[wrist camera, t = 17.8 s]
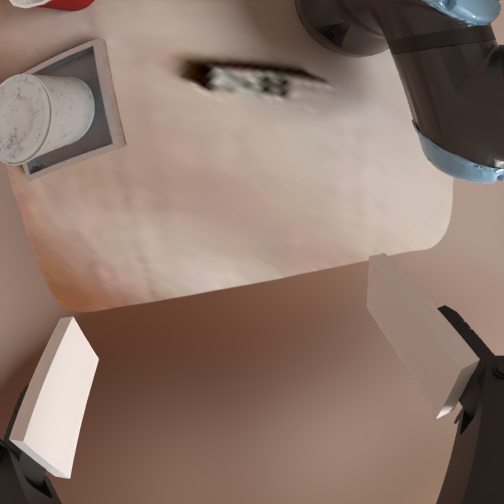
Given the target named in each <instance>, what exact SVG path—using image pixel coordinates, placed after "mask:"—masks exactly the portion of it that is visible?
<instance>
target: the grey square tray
mask: <svg viewBox="0 0 504 504" xmlns="http://www.w3.org/2000/svg"><path fill="white" fill-rule="evenodd" d="M24 73H25V74H32V75H45V76H58V77H73V78H78V79H80V80H82V81H83V82H84V83H86V84H87V85H88V86H89V88H90V90H91V91H92V94H93V97H94V101H95V112H94V117H93V121H92V123H91V125H90V127H89V129H88V131H87V132H86V133H85V134H84V136H82V137H81V138H80V139H79V140H78V141H76V142H74V143H72V144H69V145H65V146H63V147H60V148H57V149H55V150H53V151H50V152H48V153H45V154H43V155H41V156H38V157H36V158H34V159H32V160H30V161H28V162H27V163H24V164H22V165H23V168H24V172H25V175H26V178H27V182H29V181H31V180H33V179H36V178H38V177H41V176H43V175H45V174H48V173H50V172H53V171H56V170H58V169H61V168H63V167H66V166H69V165H71V164H74V163H77V162H80V161H83V160H85V159H88V158H91V157H94V156H97V155H100V154H103V153H106V152H110V151H113V150H116V149H119V148H121V147H123V146H125V145H126V141H125V137H124V133H123V129H122V124H121V120H120V115H119V111H118V106H117V102H116V97H115V92H114V87H113V82H112V76H111V71H110V65H109V60H108V54H107V48H106V42H105V41H103V40H101V39H99V38H97V39H94V40H92V41H89V42H87V43H84V44H82V45H79V46H77V47H75V48H72V49H70V50H68V51H66V52H63V53H61V54H59V55H57V56H55V57H53V58H51V59H49V60H47V61H45V62H43V63H41V64H39V65H37V66H35V67H33V68H31V69H30V70H28V71H26V72H24ZM22 74H23V73H22Z"/></svg>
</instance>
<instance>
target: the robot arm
mask: <svg viewBox="0 0 504 504" xmlns="http://www.w3.org/2000/svg"><path fill="white" fill-rule="evenodd" d="M498 1H499V0H295V2H296V9H297V13H298V16H299V18H300V20H301V22H302V24H303V26H304V27H305V29H306V30H307V31H308V32H309V34H310V35H311V36H312V37H313V38H314V39H315V40H316V41H318V42H319V43H320V44H321V45H323V46H324V47H326V48H328V49H329V50H331V51H333V52H336V53H338V54H341V55H345V56H350V57H366V56H371V55H375V54H379V53H381V52H383V51H385V50H387V49H388V48H390V51H391V54H392V57H393V59H394V62H395V65H396V67H397V70H398V73H399V76H400V79H401V81H402V84H403V87H404V91H405V94H406V97H407V100H408V103H409V107H410V110H411V114H412V117H413V120H412V122H413V126H414V128H415V130H416V132H417V133H418V136H419V139H420V142H421V146H422V149H423V152H424V154H425V156H426V158H427V159H428V160H429V161H430V162H431V163H432V164H433V165H434V166H435V167H436V168H437V169H439V170H440V171H442V172H444V173H446V174H448V175H450V176H452V177H455V178H458V179H462V180H466V181H470V182H477V183H494V182H496V180H500V181H504V45H498V44H497V42H496V38H495V36H494V33H493V30H492V27H491V23H492V22H493V21H494V20H495V19H496V18H497V17H498V15H499V13H500V10H501V5H500V3H499V2H498ZM367 309H368V310H369V312H370V313H371V315H372V316H373V318H374V319H375V321H376V322H377V324H378V325H379V327H380V328H381V330H382V331H383V333H384V334H385V336H386V338H387V339H388V341H389V342H390V344H391V345H392V347H393V348H394V350H395V352H396V353H397V355H398V356H399V358H400V359H401V361H402V363H403V364H404V366H405V367H406V369H407V371H408V372H409V374H410V376H411V377H412V379H413V380H414V382H415V384H416V385H417V387H418V389H419V390H420V392H421V394H422V395H423V397H424V399H425V400H426V402H427V404H428V406H429V407H430V409H431V411H432V412H433V414H434V416H435V418H436V419H437V418H439V417H441V416H443V415H445V414H447V413H449V412H451V411H453V410H454V408H455V406H456V405H457V403H458V401H459V402H460V403H461V405H462V406H463V407H462V409H461V411H460V412H459V414H458V416H457V417H456V419H455V421H454V423H455V424H456V423H457V422H458V420H459V423H458V428H457V433H456V437H455V442H454V446H453V450H452V454H451V458H450V461H449V465H448V469H447V472H446V475H445V479H444V482H443V485H442V488H441V491H440V494H439V497H438V500H437V503H436V504H504V356H495V355H494V354H493V353H492V352H491V351H490V349H489V348H488V347H487V346H486V345H485V343H484V342H483V341H482V340H481V339H480V338H479V336H478V335H477V334H475V332H474V331H473V330H472V329H471V328H470V326H469V325H468V324H467V323H466V322H464V320H463V318H462V317H461V316H460V315H459V314H458V313H457V312H456V311H454V310H453V309H451V308H449V307H447V306H445V305H444V306H442V307H439V308H436V307H435V306H434V305H433V304H432V303H431V301H430V300H429V299H428V298H427V297H426V296H425V295H424V294H423V293H422V292H421V291H420V289H419V288H418V287H417V286H416V285H415V284H414V283H413V282H412V281H411V280H410V279H409V278H408V277H407V276H406V275H405V273H404V272H403V271H402V270H401V269H400V268H399V267H398V266H397V265H396V264H395V263H394V262H393V261H392V260H391V259H390V258H389V257H388V256H387V255H386V254H385V253H383V254H379V255H375V256H370V257H369V276H368V294H367ZM97 364H98V357H97V356H96V354H95V353H94V351H93V349H92V348H91V346H90V345H89V343H88V341H87V340H86V338H85V336H84V335H83V333H82V331H81V330H80V328H79V326H78V324H77V323H76V321H75V319H74V318H73V317H66V318H61V319H60V320H59V322H58V324H57V326H56V328H55V330H54V332H53V334H52V336H51V338H50V340H49V342H48V344H47V346H46V348H45V350H44V353H43V355H42V357H41V359H40V361H39V363H38V366H37V368H36V370H35V372H34V375H33V377H32V380H31V382H30V384H29V385H27V386H26V387H25V389H24V390H23V391H22V392H21V394H20V397H19V399H18V401H17V405H16V406H15V409H14V413H13V414H12V417H11V420H10V422H9V425H8V428H7V431H6V434H5V437H4V440H3V441H2V440H1V439H0V504H62V503H61V501H60V499H59V497H58V495H57V493H56V491H55V489H54V488H53V486H52V484H51V481H50V480H49V478H48V477H47V476H46V475H45V472H46V470H48V471H49V472H50V473H52V474H53V475H54V476H57V477H63V478H70V476H71V470H72V465H73V459H74V454H75V449H76V444H77V440H78V436H79V431H80V427H81V423H82V418H83V414H84V410H85V406H86V402H87V399H88V395H89V391H90V387H91V384H92V380H93V377H94V374H95V370H96V367H97Z"/></svg>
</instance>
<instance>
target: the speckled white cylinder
mask: <svg viewBox="0 0 504 504" xmlns="http://www.w3.org/2000/svg"><path fill="white" fill-rule="evenodd" d="M94 112H95V101H94V97H93V94H92V91H91V90H90V88H89V86H88V85H87V84H86V83H84V82H83V81H82V80H80V79H78V78H73V77H58V76H45V75H32V74H25V73H23V74H16V75H14V76H12V77H9V78H8V79H6V80H5V81H4V82H3V83H1V84H0V161H1V162H3V163H5V164H9V165H21V164H24V163H27V162H28V161H30V160H32V159H34V158H36V157H38V156H41V155H43V154H45V153H48V152H50V151H53V150H55V149H57V148H60V147H63V146H65V145H69V144H72V143H74V142H76V141H78V140H79V139H80V138H81V137H82V136H84V134H85V133H86V132H87V131H88V129H89V127H90V125H91V123H92V121H93V117H94Z"/></svg>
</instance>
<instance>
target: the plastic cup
mask: <svg viewBox="0 0 504 504" xmlns="http://www.w3.org/2000/svg"><path fill="white" fill-rule="evenodd" d="M9 1H10V2H11V4H12V5H13V6H16V7H21V8H32V7H45V8H52V9H58V10H67V11H77V10H82V9H84V8H86V7H88V6H89V5H90V4H91V3H92V2H93V1H94V0H9Z"/></svg>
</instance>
